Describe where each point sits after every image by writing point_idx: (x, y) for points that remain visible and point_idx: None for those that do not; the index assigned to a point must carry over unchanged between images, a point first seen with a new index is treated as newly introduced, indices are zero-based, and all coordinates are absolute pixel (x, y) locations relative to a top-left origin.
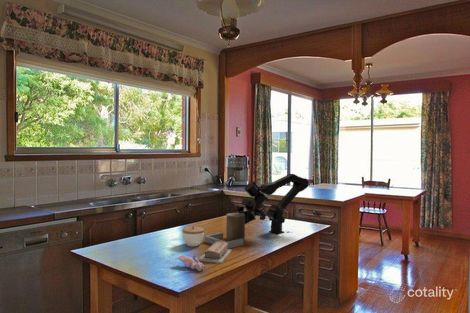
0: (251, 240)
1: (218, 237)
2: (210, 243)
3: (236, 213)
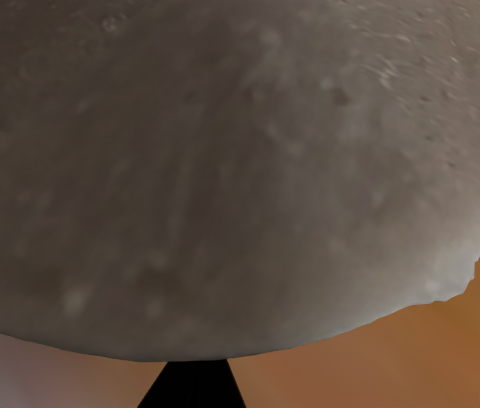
0: (81, 373)
1: None
2: None
3: (316, 69)
